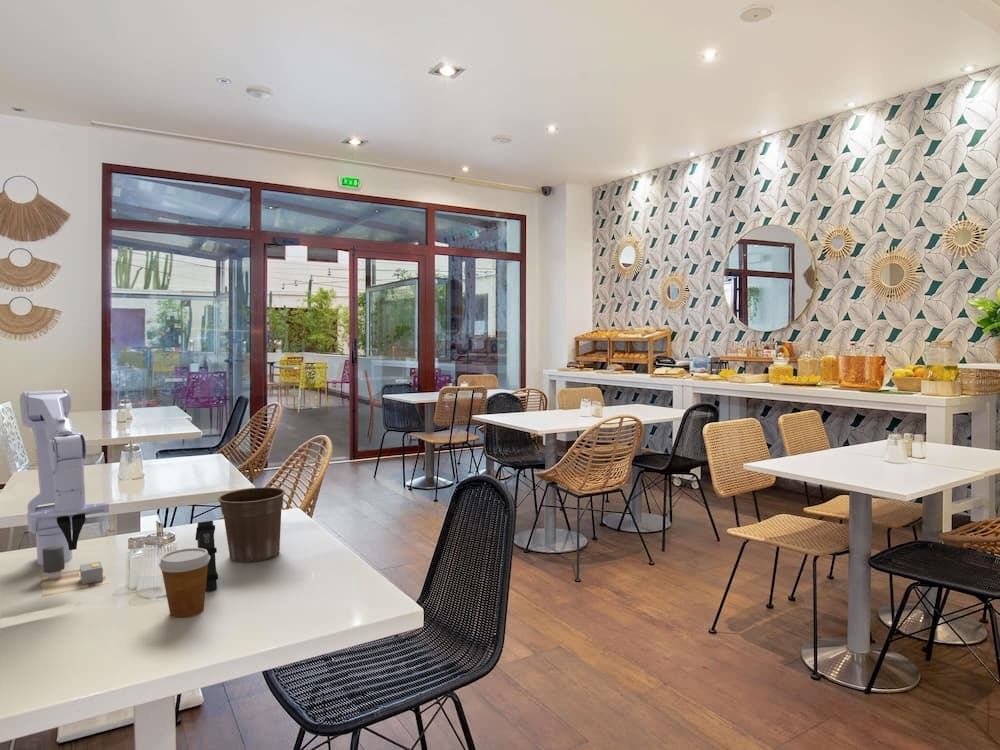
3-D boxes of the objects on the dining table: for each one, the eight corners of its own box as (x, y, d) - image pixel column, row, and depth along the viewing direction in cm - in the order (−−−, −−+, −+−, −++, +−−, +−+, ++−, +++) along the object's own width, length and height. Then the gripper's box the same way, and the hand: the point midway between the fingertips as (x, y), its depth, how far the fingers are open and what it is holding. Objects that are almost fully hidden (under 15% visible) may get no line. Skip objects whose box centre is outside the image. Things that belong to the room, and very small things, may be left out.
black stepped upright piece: (200, 591, 140) (196, 522, 145) (198, 598, 151) (195, 533, 156) (219, 587, 142) (214, 519, 147) (216, 594, 153) (212, 531, 158)
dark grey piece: (44, 577, 150) (42, 547, 150) (64, 573, 152) (63, 544, 152) (44, 582, 147) (42, 552, 147) (65, 578, 149) (63, 548, 149)
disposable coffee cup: (161, 625, 127) (158, 565, 126) (161, 608, 135) (158, 551, 135) (214, 615, 131) (211, 557, 131) (211, 599, 140) (208, 544, 139)
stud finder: (80, 578, 149) (79, 564, 149) (101, 574, 151) (100, 560, 151) (82, 584, 145) (81, 570, 145) (102, 580, 147) (102, 566, 147)
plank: (41, 582, 151) (41, 575, 151) (101, 571, 158) (101, 564, 158) (42, 603, 139) (42, 595, 139) (107, 589, 146) (107, 582, 146)
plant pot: (205, 561, 164) (203, 498, 163) (252, 542, 179) (250, 485, 178) (255, 569, 158) (253, 504, 157) (300, 549, 173) (298, 489, 172)
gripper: (29, 497, 137) (33, 560, 138) (109, 487, 146) (111, 546, 147) (29, 491, 143) (32, 551, 144) (106, 482, 152) (108, 539, 152)
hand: (72, 548), depth 146 cm, fingers closed
